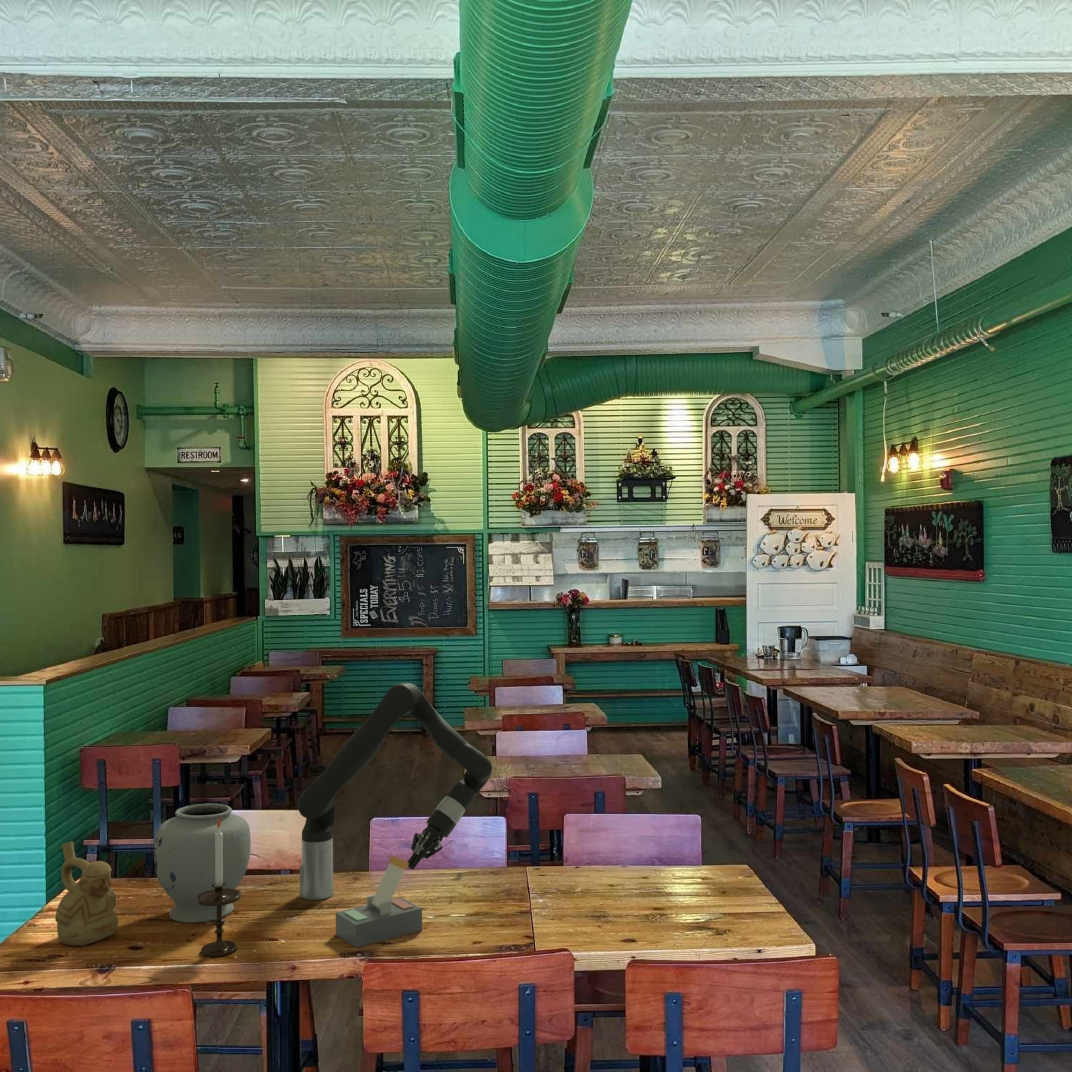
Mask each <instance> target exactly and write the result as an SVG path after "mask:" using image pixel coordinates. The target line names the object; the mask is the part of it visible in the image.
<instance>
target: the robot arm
mask: <svg viewBox="0 0 1072 1072" xmlns="http://www.w3.org/2000/svg"><path fill="white" fill-rule="evenodd" d="M404 715H409V716H410V717H412V718H413V719H415V720H416V721H417V722H418V723H419V724H421V726H422V727H423V728H424V730H426V732H427V734H428V736H430V739H432V741H433V742H434V743H433V744H435V745H436V746H437V748H439V750H440V751H442V753H444V754H445V755H446V756H447V757H448V758H449V759H450V760H451V761H452V762H453V763H457V764H459V765H460V766H462V768H463V769H464V770H465V772H464V773H463V775H462V776H461V778H460V779H459V780H458V781H457V782H456V783H454V785H453V786H452V787H451V788H450V790H449V791H448V792H447V794H446V795H445V796H444V798H443V799H442V800H441V801H440V802H439V803H438V805H437V806H436V808H435V809H434V810H433V811H432V812H431V815H429V817H428V818H427V820H426V824H427V825H426V827H425V828H424V829H423V830H422V832H421V833H419V832H415V833H414V835H413V839H412V843H411V847H410V850H412V851H411V852H412V854H411V856H410V857H409V859H408V860H407V861H406V862H408V863H409V865H408V867H407V869H410V870H415V868H416V867H417V865H418V864H419V863H420V861H421V860H423V859H426V860H427V859H429V858H431V857H432V856H434V855H436V853H439V852H440V851H441V850H442V849H443V848H444V847H443V845H442V844H441V842H442V841H443V839H444V838H448V837H449V836H450V835H451V833H452V832H453V830H454V829H455V827H456V826H457V825H458V823H459V822H460V820H461V819H462V817H463V816H464V814H465V812H466V810H467V809H468V807H469V806H470V805H471V803H472V802H473V800H474V799H475V797H476V796H477V795H478V794H479V792H480V791H482V789H483V787H485V786H486V784H487V782H488V781H489V779H490V778H491V775H492V771H493V765H492V763H491V760H490V759H489V758H488V757H487V755H485V754H484V753H482V751H480V750H478V749H477V748H476V747H474V746H473V745H471V744H470V743H469V742H468V741H467V740H466V739H465V738H464V737H463V736H462V735H461V734H460V733H459V732H458V731H456V729H455V728H453V727H452V726H451V725H450V724H449V723H448V722H447V721H446V720H445V718H443V717H442V716H441V714H440V713H439V712H438V711H437V710H436V709H435V708H434V706H433V705H432V704H431V703H430V702H429V700H428V699H427V698H426V695H424V693H423V692H422V691H421V689H419V687H418V686H417V685H416V684H414V683H410V682H404V683H402V682H401V683H396V684H393V686H391V687H390V688H389V689H388V690H387V692H385V694H384V696H383V697H382V699H381V700H380V701H379V703H378V705H377V706H376V708H375V709H373V712H372V713H371V714H370V715H369V717H367V719H365V720H364V721H363V723H361V725H360V726H359V727H358V728H357V729H356V730H355V731H354V733H353V734H351V736H350V737H349V738H348V739H347V740H346V742H345V743H343V745H342V746H341V748H340V749H339V750H338V752H337V753H336V755H334V757H333V759H332V760H331V761H330V763H329V764H328V765H327V767H326V768H325V769H324V770H323V772H322V773H321V774H320V775H319V776H318V777H317V778H316V780H314V781H313V782H312V783H311V784H310V785H309V786H308V787H306V789H305V790H304V791H302V793H300V796H299V797H298V801H297V809H298V812H299V814H300V815H301V816H302V817H303V818H305V824H304V826H303V828H302V830H301V864H300V865H299V898H300V899H305V900H310V901H317V900H323V899H327V898H328V899H329V898H330V897H333V895H334V841H333V840H334V835H333V834H334V833H333V832H334V829H335V824H336V822H335V821H336V798H335V797H336V796H337V794H338V793H339V791H340V790H341V789H342V788H343V787H344V786H345V785H346V784H348V783H349V782H350V781H352V780H353V779H354V778H355V777H356V776H357V775H358V774H359V773H360V772H362V771H363V770H364V768H366V766H367V765H369V763H370V762H371V760H372V759H373V758H374V757H375V756H376V755H377V753H378V752H379V750H380V748H381V747H382V744H383V742H384V740H385V738H386V736H387V734H388V732H389V731H390V730H391V729H392V727H393V726H395V724H396V723H397V722H399V720H400V719H401V718H403V716H404Z"/></svg>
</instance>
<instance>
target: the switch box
mask: <svg viewBox="0 0 1072 1072" xmlns="http://www.w3.org/2000/svg"><path fill="white" fill-rule="evenodd" d="M374 896H375V894H371V895H367V896H366V905H362V906H357V907H353V908H348V909H344V910H341V911H337V912H335V935H336V936H337V937H339V939H341V940H343V941H345V942H346V943H348V944H349V945H350V946H352V947H354V948H356V949H357V948H361V947H364V946H367V945H372V944H375V943H379V942H383V941H388V940H390V939H395V938H399V937H403V936H407V935H410V934H414V933H418V932H422V931H423V908H422V907H420V906H418V905H416V904H415V903H412V902H411V901H409V900H407V899H405V898H403V897H401V896H400V897H396V898H395V897H394V898H392V899H391V901H390V902H386V903H382V904H380V910H379V909H377V908H375V907H374V906H372V901H373V898H374Z"/></svg>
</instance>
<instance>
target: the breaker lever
mask: <svg viewBox="0 0 1072 1072" xmlns="http://www.w3.org/2000/svg"><path fill="white" fill-rule="evenodd" d="M388 863H389V864H388V865H387V868H386V870H385V872H384V874H383V876H382V878H381V880H380V883H379V885H378V888H377V890H376V892H375V894H374V895H375V896H374V898H373V901H372V906H374V907H375V908H377V909H379V910H380V904H382V903H386V902H390V901H391V899H393V897H394V894H395V892H396V890H397V888H398V886H399V883H400V881H401V879H402V877H403V874H404V872H405V871H407V870H408V865H409V863H408V862H407V861H406V860H403V859H401V858H400V857H397V856H395V855H392V854H391V855H390V857H389V859H388Z"/></svg>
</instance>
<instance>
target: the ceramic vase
mask: <svg viewBox="0 0 1072 1072" xmlns="http://www.w3.org/2000/svg"><path fill="white" fill-rule="evenodd" d="M174 815H175V816H174V817H171V818H169V819H168V820H165V821H164V822H162V823H161V824H160V825H159V826H158V828H157V830H156V832H155V837H154V842H153V843H154V844H153V861H154V868H155V869H154V870H155V874H156V877H157V881H158V882H159V884H160V886H161V887H162V889H163V890H164V891H165V893H166V895H168V897H169V898H170V899H171V900H172V901H173V902H174V907H172V909H171V910H170V911H169V913H168V914H169V917H170V919H171V920H173V921H175V922H178V923H185V924H186V923H189V924H190V923H191V924H195V923H204V922H211V921H215V920H216V919H217V906H204V905H200V904H198V902H197V897H198V895H200V894H201V893H204V892H206V891H210V890H215V888H214V887H211V885H213V884H215V833H217V830H218V828H220V831H221V833H223V883H226V884H227V885H226V886H224V887H223V889H224V888H229V889H236V890H237V888H238V886H239V885H240V883H241V881H242V880H243V878H244V876H245V874H246V872H247V869H248V866H249V861H250V859H251V858H250V856H251V851H252V850H251V847H252V844H251V843H252V841H251V840H252V839H251V830H250V825H249V823H248V822H247V820H246V819H245V818H243V817H242V816H240V815H238V814H234V813H233V809H232V808H231V806H228V805H226V804H222V803H220V804H219V803H202V804H201V803H200V804H193V805H185V806H184V807H180V808H178V809H176V810H175V812H174ZM220 817H221V819H222V820H221V823H220V827H218V826H217V824H218V821H219V819H220ZM234 908H235V906H234V904H233V903H231V904H227V905H222V918H223V917H226V916H228V915H230V914H231V913H232V912H233V911H234Z"/></svg>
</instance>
